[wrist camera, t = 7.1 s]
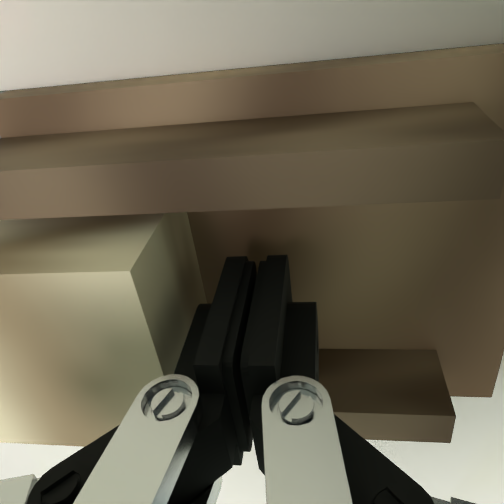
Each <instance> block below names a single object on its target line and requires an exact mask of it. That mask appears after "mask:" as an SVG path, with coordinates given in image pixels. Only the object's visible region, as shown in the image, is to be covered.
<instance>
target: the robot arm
mask: <svg viewBox="0 0 504 504" xmlns="http://www.w3.org/2000/svg"><path fill="white" fill-rule="evenodd" d="M252 440H254V445H255V450H256V455H257V460H258V466H259V469H260V470H261V471H262V473H263V474H264V475H265V484H266V504H475V503H471V502H468V501H464V500H460V499H456V498H453V497H451V499H450V502H448V501H445V500H441V499H437V498H434V497H431V496H430V495H429V494H428V493H427V492H426V491H425V490H424V489H423V488H422V487H421V486H420V485H419V484H418V483H417V482H415V481H414V480H413V479H412V478H411V477H409V476H408V475H407V474H406V473H405V472H403V471H402V470H401V469H400V468H399V467H397V466H396V465H395V464H394V463H393V462H391V461H390V460H389V459H388V458H387V457H385V456H384V455H383V454H382V453H381V452H379V451H378V450H377V449H376V448H375V447H373V446H372V445H371V444H370V443H369V442H367V441H366V440H365V439H364V438H363V437H361V436H360V435H359V434H358V433H357V432H355V431H354V430H353V429H352V428H351V427H349V426H348V425H347V424H346V423H345V422H343V421H342V420H341V419H340V418H339V417H337V416H336V415H335V414H334V413H333V409H332V404H331V399H330V397H329V394H328V392H327V390H326V389H325V388H324V387H323V385H322V384H321V383H319V336H318V315H317V302H292V291H291V281H290V270H289V260H288V255H268V256H267V259H266V261H260V262H259V267H258V272H257V270H256V264H255V261H248V257H247V256H233V257H227V258H226V260H225V263H224V266H223V270H222V273H221V276H220V279H219V282H218V286H217V289H216V292H215V295H214V298H213V302H212V303H208V304H199V305H198V307H197V309H196V312H195V314H194V317H193V320H192V323H191V326H190V329H189V331H188V334H187V337H186V340H185V343H184V346H183V349H182V351H181V354H180V357H179V360H178V363H177V366H176V368H175V371H174V374H169V375H165V376H161V377H159V378H157V379H155V380H153V381H151V382H150V383H148V384H147V385H146V386H144V387H143V389H142V390H141V391H140V392H139V394H138V395H137V397H136V398H135V400H134V402H133V403H132V405H131V407H130V408H129V410H128V412H127V414H126V415H125V417H124V419H123V420H122V422H121V424H120V425H118V426H117V427H115V428H113V429H112V430H110V431H109V432H107V433H106V434H104V435H103V436H101V437H99V438H98V439H96V440H95V441H93V442H92V443H90V444H88V445H87V446H85V447H84V448H82V449H81V450H79V451H77V452H76V453H74V454H73V455H71V456H70V457H68V458H66V459H65V460H63V461H62V462H60V463H59V464H57V465H56V466H54V467H52V468H51V469H50V470H49V471H47V472H46V473H45V474H44V475H42V477H41V478H36V477H35V475H34V474H31V475H26V476H20V477H15V478H9V479H4V480H0V504H216V501H217V498H218V495H219V492H220V489H221V484H222V475H223V474H225V473H226V472H227V471H228V470H230V469H231V468H232V466H233V465H241V464H242V458H243V451H246V452H250V451H251V447H252Z"/></svg>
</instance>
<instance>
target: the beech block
mask: <svg viewBox="0 0 504 504" xmlns="http://www.w3.org/2000/svg"><path fill="white" fill-rule="evenodd" d="M199 304H207V301H206V296H205V292H204V287H203V282H202V278H201V273H200V269H199V264H198V260H197V255H196V251H195V246H194V242H193V237H192V233H191V228H190V224H189V219H188V215H187V212H180V213H156V214H132V215H108V216H84V217H61V218H37V219H13V220H0V442H1V443H22V444H44V445H66V446H87V445H88V444H90V443H92V442H93V441H95V440H96V439H98V438H99V437H101V436H103V435H104V434H106V433H107V432H109V431H110V430H112V429H113V428H115V427H117V426H118V425H120V424H121V422H122V420H123V419H124V417H125V415H126V414H127V412H128V410H129V408H130V407H131V405H132V403H133V402H134V400H135V398H136V397H137V395H138V394H139V392H140V391H141V390H142V389H143V387H144V386H146V385H147V384H148V383H150V382H151V381H153V380H155V379H157V378H159V377H161V376H165V375H169V374H174V371H175V368H176V366H177V363H178V360H179V357H180V354H181V351H182V349H183V346H184V343H185V340H186V337H187V334H188V331H189V329H190V326H191V323H192V320H193V317H194V314H195V312H196V309H197V307H198V305H199Z"/></svg>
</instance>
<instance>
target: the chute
mask: <svg viewBox="0 0 504 504" xmlns="http://www.w3.org/2000/svg"><path fill="white" fill-rule="evenodd" d="M180 212H187V215H188V219H189V224H190V228H191V233H192V237H193V242H194V246H195V251H196V255H197V260H198V264H199V269H200V273H201V278H202V282H203V287H204V292H205V296H206V301H207V304H208V303H212V302H213V298H214V295H215V292H216V289H217V286H218V282H219V279H220V276H221V273H222V270H223V266H224V263H225V260H226V258H227V257H233V256H247V257H248V261H255V264H256V270H257V272H258V267H259V262H260V261H266V259H267V256H268V255H288V260H289V270H290V281H291V291H292V302H317V315H318V336H319V383H321V384H322V385H323V387H324V388H325V389H326V390H327V392H328V394H329V397H330V399H331V404H332V409H333V413H334V414H335V415H336V416H337V417H339V418H340V419H341V420H342V421H343V422H345V423H346V424H347V425H348V426H349V427H351V428H352V429H353V430H354V431H355V432H357V433H358V434H359V435H360V436H361V437H363V438H364V439H370V440H393V441H416V442H440V443H450V442H451V438H452V433H453V428H454V423H455V418H456V415H455V412H454V408H453V405H452V401H451V398H450V396H461V397H492V394H493V390H494V386H495V382H496V379H497V375H498V371H499V367H500V363H501V359H502V356H503V352H504V43H503V44H493V45H482V46H472V47H462V48H451V49H441V50H430V51H420V52H409V53H399V54H388V55H378V56H367V57H357V58H346V59H336V60H325V61H315V62H304V63H294V64H283V65H273V66H262V67H252V68H241V69H231V70H220V71H210V72H199V73H189V74H178V75H168V76H157V77H147V78H136V79H126V80H115V81H105V82H94V83H84V84H74V85H63V86H53V87H42V88H32V89H21V90H11V91H0V220H13V219H37V218H61V217H84V216H108V215H132V214H156V213H180Z"/></svg>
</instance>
